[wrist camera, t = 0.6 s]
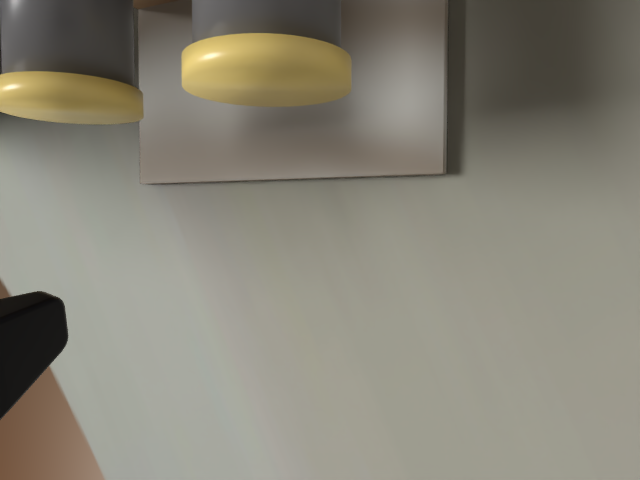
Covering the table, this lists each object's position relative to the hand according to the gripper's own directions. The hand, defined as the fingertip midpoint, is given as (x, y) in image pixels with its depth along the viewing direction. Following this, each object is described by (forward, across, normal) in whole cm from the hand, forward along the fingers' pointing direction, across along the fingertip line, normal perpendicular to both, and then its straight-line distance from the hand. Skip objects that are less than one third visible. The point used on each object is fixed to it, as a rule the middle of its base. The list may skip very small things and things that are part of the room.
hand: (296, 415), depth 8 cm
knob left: (+12, +14, -3) cm, 19 cm away
